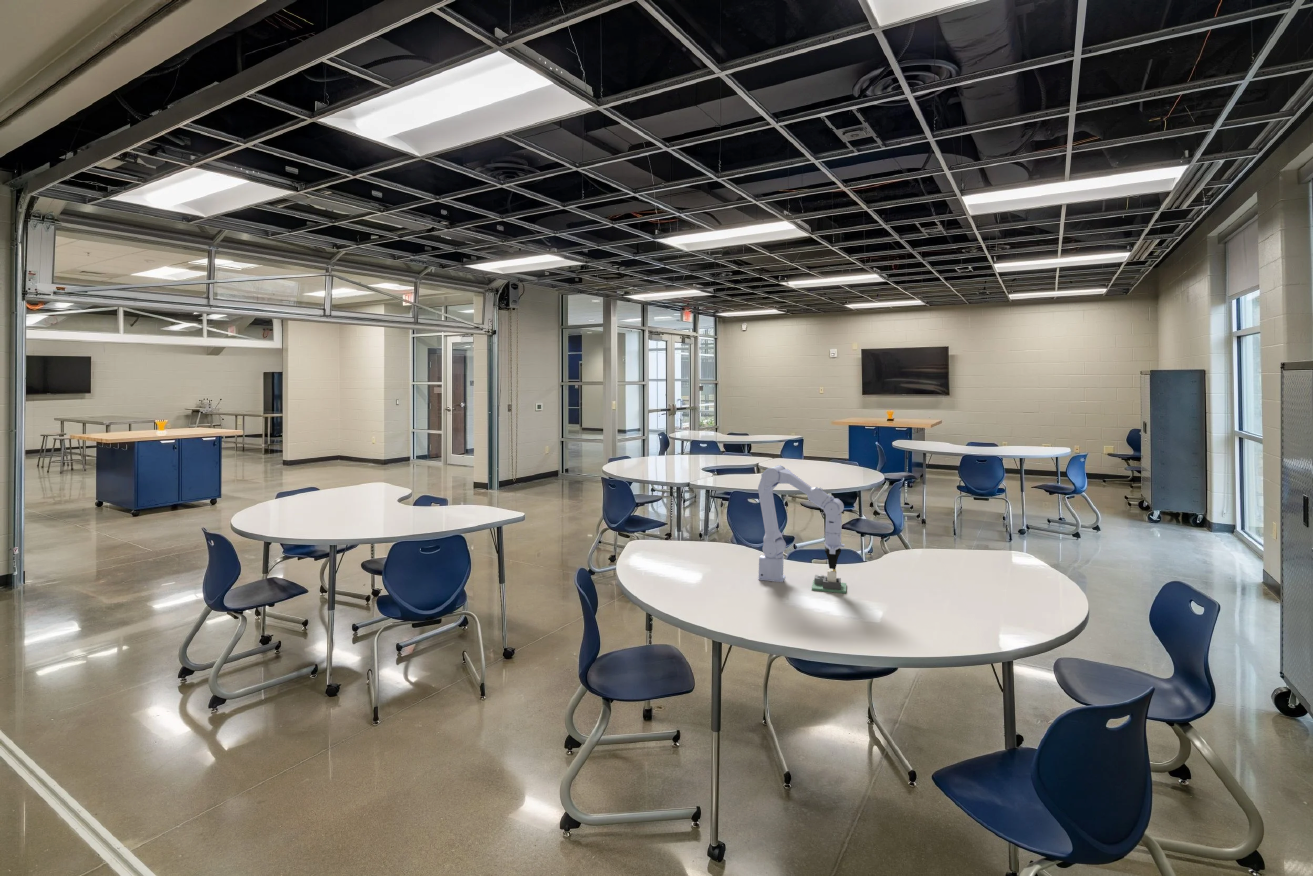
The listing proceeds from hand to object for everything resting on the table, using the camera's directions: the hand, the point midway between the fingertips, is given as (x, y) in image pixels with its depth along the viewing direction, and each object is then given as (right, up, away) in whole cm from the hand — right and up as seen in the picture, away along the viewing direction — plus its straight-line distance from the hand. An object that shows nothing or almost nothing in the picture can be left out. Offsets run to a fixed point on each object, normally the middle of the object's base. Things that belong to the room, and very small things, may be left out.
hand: (832, 568), depth 227 cm
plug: (0, -7, +1) cm, 7 cm away
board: (-1, -8, +2) cm, 8 cm away
